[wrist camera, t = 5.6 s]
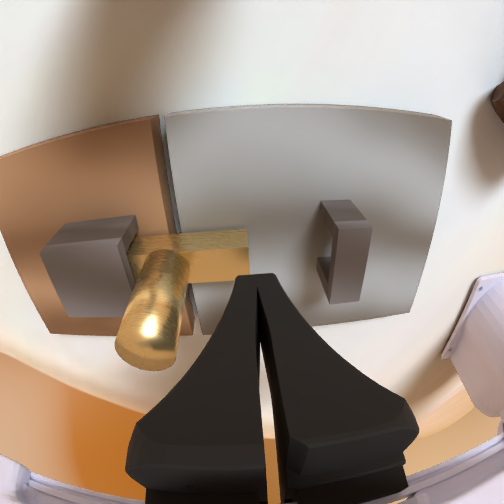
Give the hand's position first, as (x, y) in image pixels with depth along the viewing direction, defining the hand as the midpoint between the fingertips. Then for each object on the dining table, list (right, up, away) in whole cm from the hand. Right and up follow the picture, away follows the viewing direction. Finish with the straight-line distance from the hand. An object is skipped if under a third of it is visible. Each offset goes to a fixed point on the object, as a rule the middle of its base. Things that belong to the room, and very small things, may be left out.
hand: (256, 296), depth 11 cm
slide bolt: (-5, +2, +3) cm, 6 cm away
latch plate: (-2, +3, +4) cm, 6 cm away
